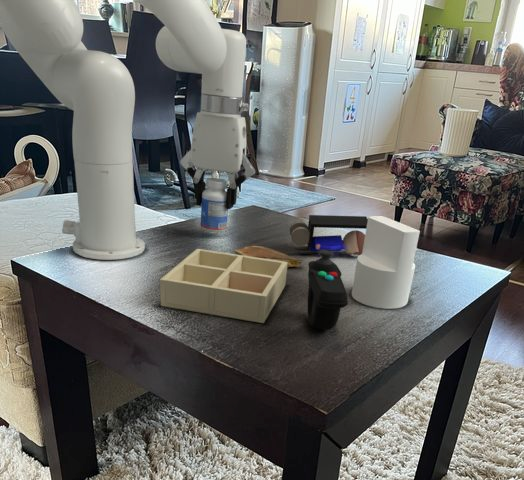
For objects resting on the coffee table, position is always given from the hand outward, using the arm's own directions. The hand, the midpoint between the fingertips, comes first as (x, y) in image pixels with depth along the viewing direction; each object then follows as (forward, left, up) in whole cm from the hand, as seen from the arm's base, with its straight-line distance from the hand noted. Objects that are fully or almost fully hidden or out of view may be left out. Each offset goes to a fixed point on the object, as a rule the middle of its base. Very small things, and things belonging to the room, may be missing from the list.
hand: (215, 204), depth 107 cm
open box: (+12, -29, -6) cm, 32 cm away
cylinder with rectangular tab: (+35, -20, -6) cm, 41 cm away
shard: (+14, -10, -7) cm, 18 cm away
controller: (+27, -36, -6) cm, 45 cm away
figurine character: (+24, -1, -6) cm, 25 cm away
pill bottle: (0, 0, -5) cm, 5 cm away
